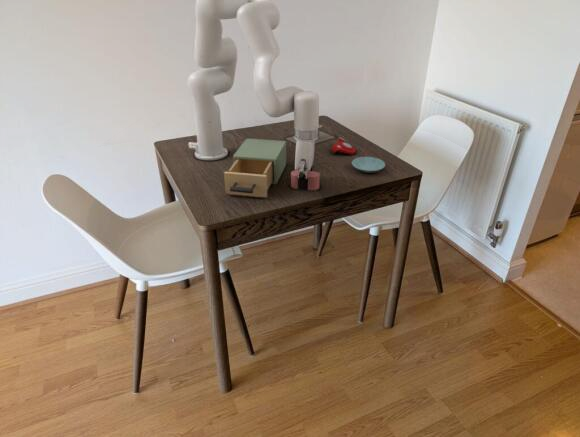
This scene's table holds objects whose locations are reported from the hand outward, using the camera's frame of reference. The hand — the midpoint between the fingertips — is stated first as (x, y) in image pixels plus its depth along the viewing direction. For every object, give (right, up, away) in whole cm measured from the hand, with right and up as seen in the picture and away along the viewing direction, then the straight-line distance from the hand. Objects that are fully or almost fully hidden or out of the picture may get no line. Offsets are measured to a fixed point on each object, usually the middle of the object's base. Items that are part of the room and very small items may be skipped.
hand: (305, 182), depth 141 cm
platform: (+4, +22, +39) cm, 45 cm away
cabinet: (-15, +5, +10) cm, 19 cm away
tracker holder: (+16, +15, +28) cm, 35 cm away
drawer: (-18, -2, -2) cm, 18 cm away
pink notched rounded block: (0, -1, +1) cm, 1 cm away
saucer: (+23, +6, +13) cm, 27 cm away
